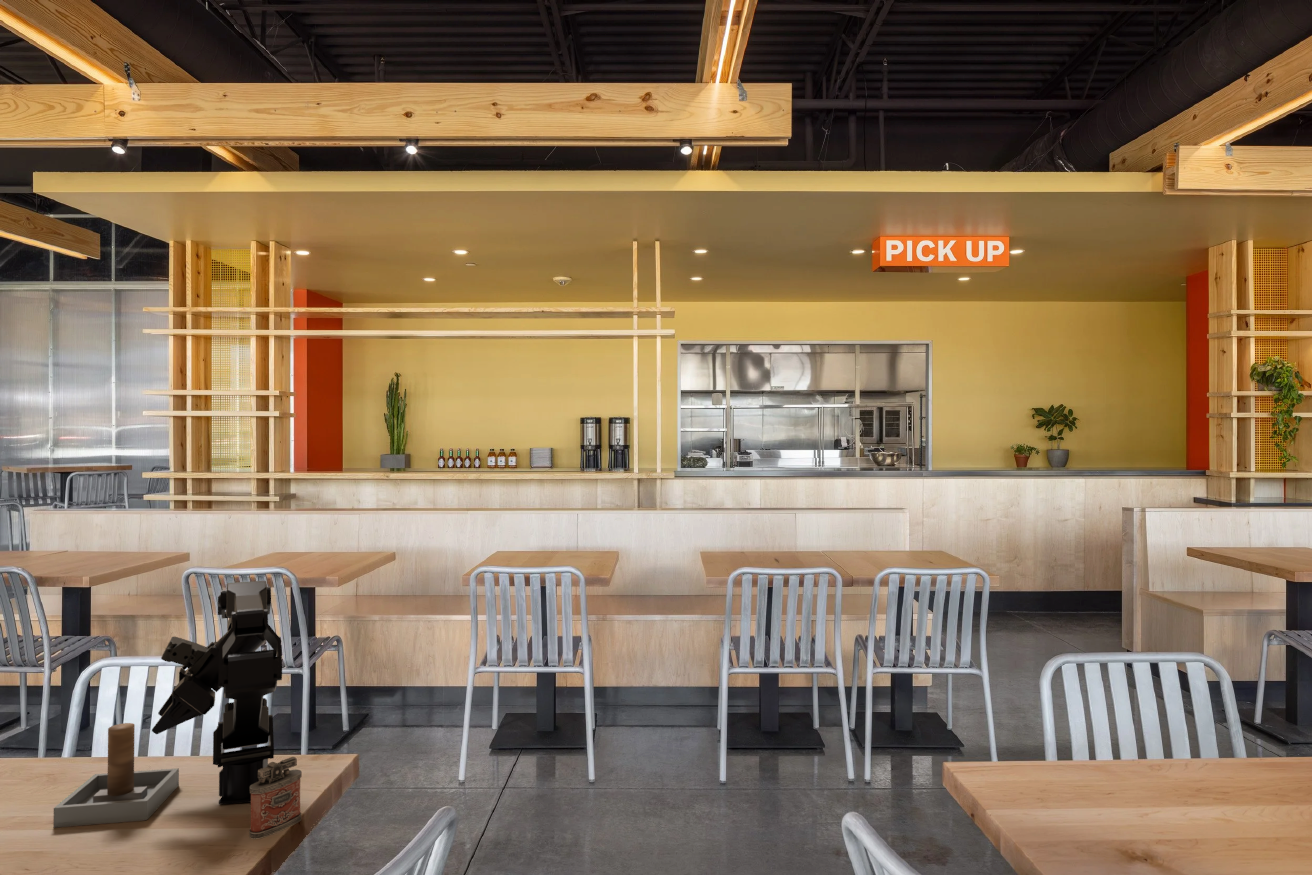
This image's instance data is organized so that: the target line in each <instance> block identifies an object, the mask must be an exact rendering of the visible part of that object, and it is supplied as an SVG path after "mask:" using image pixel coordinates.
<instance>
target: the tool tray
mask: <svg viewBox="0 0 1312 875" xmlns="http://www.w3.org/2000/svg"><path fill="white" fill-rule="evenodd" d="M179 779H180V768H177V767H176V768H166V769H165V768H164V769H163V768H162V769H149V770H148V769H147V770H136V771H135V770H134V787H146V786H147V796H146V797H145V798H144V799H138V800H125V801H112V802H99V803H93V796H94V795H95V794H96V793H97V792H98V791H100V790H105V789H107V781H108V772H106V773H94V774H93V775H92V776H91V777H90V778H88V779H87V780H86V781H84V782H83V784H81V785H80V786H79V787H78V788H76V789H75V790H74V791H73V792H71V793H70V794H69V795H68V796H67V797H65V798H64V799H62V801H61V802H59V803H58V804H57V805H56V806H54V807H53V822H52V823H53V828H65V827H77V826H78V827H79V826H89V825H102V824H114V823H116V824H117V823H128V822H139V821H147V820H148V819H150V818H151V816H152V815H154V813H155V812H156V810H158V809H159V807H160V806H162V804H163V803H164V802H165V801H166V800H167V799H168V798H169V797H170V795H172V794H173V792H175V790H176V789H178V787H179V785H180V782H179V781H180V780H179Z"/></svg>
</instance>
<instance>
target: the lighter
mask: <svg viewBox="0 0 1312 875" xmlns="http://www.w3.org/2000/svg"><path fill="white" fill-rule="evenodd" d="M297 765H298V759H297V757H296V756H290V757H288V758H287V757H286V758H284V759H282V760H280V761H279V762H275V761H271V762H268V765H267V767H265V768H262V769H260V770H258V778H259V781H258V782H256V783H254V784H252V785H250V793H251V802H250V829H248V830H249V831H248V837H249V838H250V839H252V840H259V839H262V838H266V837H269V836H271V835H274V834H277V833H279V832H281V831H284V830H286V829H289V828H290V827H292V826H294V825H296V824H297V823H300V821H302V813H301V778H302V773H303V772H302V770H300V769H291V768H294V767H296V766H297Z"/></svg>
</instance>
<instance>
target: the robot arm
mask: <svg viewBox="0 0 1312 875" xmlns="http://www.w3.org/2000/svg"><path fill="white" fill-rule="evenodd" d="M271 604H272V587H271V585H270V586H268V584H267V581H266V580H252V581H238V582H227V583H226V589H221V590H220V594H219V595H218V596H217V616H221V619H228V620H227V624H226V626H227V627H226V629H227V630H226V633H224V634H223V635H222V637H220V639H218V640H215V641H212V642H211V643H209V644H208V645H207V646H204V645H202V644H200V643H197V642H194V641H191V640H188V639H184V638H181V637H178V636H172V637H171V638H170V640H169V642H168V643H167V646H166V648H165V649H164V651H163V653H162V655H161V657H160V658H161V660H162V661H164V662H167V663H175V664H177V665H182V666H181V667H180V669H179V672H178V683H177V684H176V686H174V687H173V690H172V692H171V694H170V695H169V697H168V698H167V699H166V701H165V703H163V705H162V706H161V708H160V709H159V710H158V715H159V716H160V717H159V719H158V720H157V722H156V723H155V724H154V726H153V728H152V729H151V732H153V734H155V735H159V734H161V733H163V732H165V731H168V730H169V729H172V728H174V727H176V726H179V725H181V724H182V723H185V722H188V721H191V720H192V719H194V718H197V717H201V716H203V715H206V714H208V713H209V711H211V710H212V709H213V707H215V703H216V693H217V692H219V690H221V689H222V688H223V698H225V699H230V700H233V702H227V703H226V704H224V712H223V713H222V721H218V722H217V726H216V729H214V731H213V732H212V734H213V735H212V736H213V737H212V739H213V741H212V765H215V766H217V768H221V767H222V769H221V770H220V771H219V773H218V783H219V784H218V796H219V797H220V798H219V800H218V805H228V804H229V805H231V804H241V803H242V804H243V803H251V793H250V785H252V784H254V783H256V782H258V781H259V778H258V770H260V769H262V768H265V767H267V765H268V764H269V759H270V760H271V759H274V758H275V756H274V755H275V742H274V741H275V740H274V737H275V735H274V717H273V716H274V715H273V714H269V713H270V712H269V711H270V708H269V706H268V700H267V698H265V696H267V695H269V694H271V693H274V692H275V691H276V690H277V686H278V682H279V681H282V679H283V659H282V658H283V654H282V653H283V651H282V649H283V648H282V640H281V638H280V636H279V634H277V632H275V631H274V629H273V628H272V627H271V626H270V625H269V615H270V614H271V606H272V605H271ZM265 642H267V643H268V645H269V646H270V647H271V648H272V649H267V650H266V649H264V650H258V649H259V648H260V647H261V646H262V645H263V644H264V643H265ZM265 744H268V745H265ZM258 745H263V746H258ZM254 746H257V747H254ZM245 747H251V748H245ZM238 748H240V749H238ZM241 748H243V749H241ZM232 749H233V750H232ZM235 749H238V750H235ZM222 750H223V751H225V752H222ZM226 750H232V751H226Z"/></svg>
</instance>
